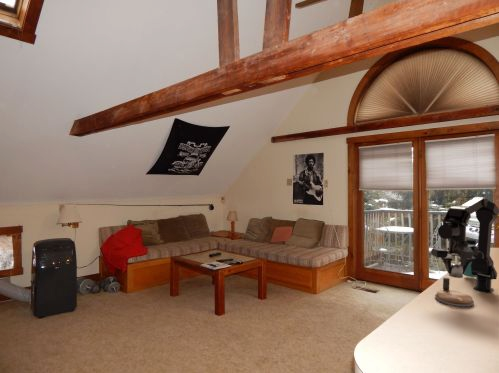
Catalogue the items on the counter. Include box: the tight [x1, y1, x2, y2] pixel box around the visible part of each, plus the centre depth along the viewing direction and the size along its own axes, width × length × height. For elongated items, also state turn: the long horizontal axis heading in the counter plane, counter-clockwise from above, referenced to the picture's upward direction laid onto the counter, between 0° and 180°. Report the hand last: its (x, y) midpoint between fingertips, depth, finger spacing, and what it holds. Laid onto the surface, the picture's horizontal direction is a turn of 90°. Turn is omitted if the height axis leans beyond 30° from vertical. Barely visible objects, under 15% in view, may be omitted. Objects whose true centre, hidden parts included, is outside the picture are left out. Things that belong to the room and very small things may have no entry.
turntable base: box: [434, 293, 475, 309], centre depth 143 cm, size 14×14×1 cm
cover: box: [448, 262, 464, 279], centre depth 143 cm, size 5×5×5 cm
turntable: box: [436, 277, 474, 304], centre depth 144 cm, size 15×13×6 cm
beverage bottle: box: [463, 238, 477, 278], centre depth 174 cm, size 6×7×20 cm
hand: (455, 273), depth 143 cm, fingers closed on cover, 5 cm apart
